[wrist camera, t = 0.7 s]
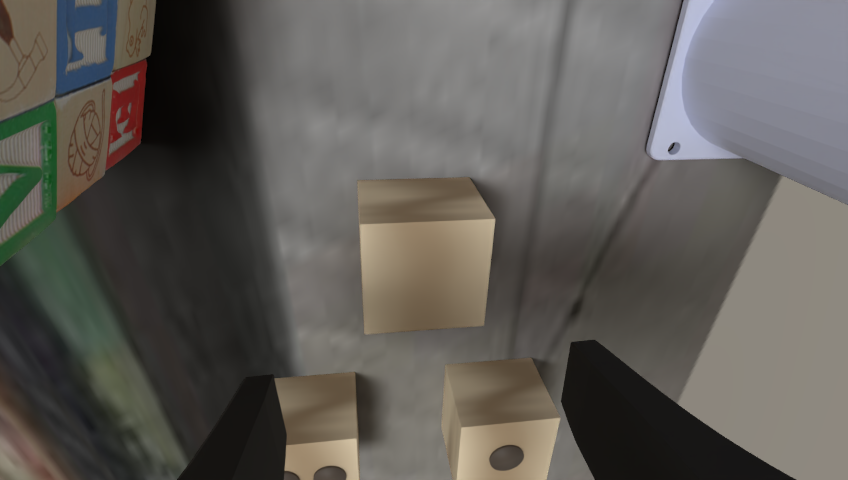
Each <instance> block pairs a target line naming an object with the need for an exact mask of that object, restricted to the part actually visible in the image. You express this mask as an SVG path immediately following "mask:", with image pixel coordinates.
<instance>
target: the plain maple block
mask: <svg viewBox="0 0 848 480" xmlns="http://www.w3.org/2000/svg"><path fill="white" fill-rule="evenodd" d="M357 185H358V209H359V232H360V256H361V279H362V297H363V316H364V334H377V333H391V332H405V331H419V330H433V329H447V328H460V327H474V326H484V320H485V311H486V302H487V293H488V283H489V274H490V265H491V255H492V246H493V237H494V228H495V218H494V216H493V214H492V213H491V211H490V210H489V208H488V206H487V205H486V203H485V202H484V200H483V198H482V197H481V195H480V194H479V192H478V190H477V189H476V187H475V186H474V184H473V182H472V181H471V179H470V178H469V177H460V178H423V179H386V180H357Z"/></svg>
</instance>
